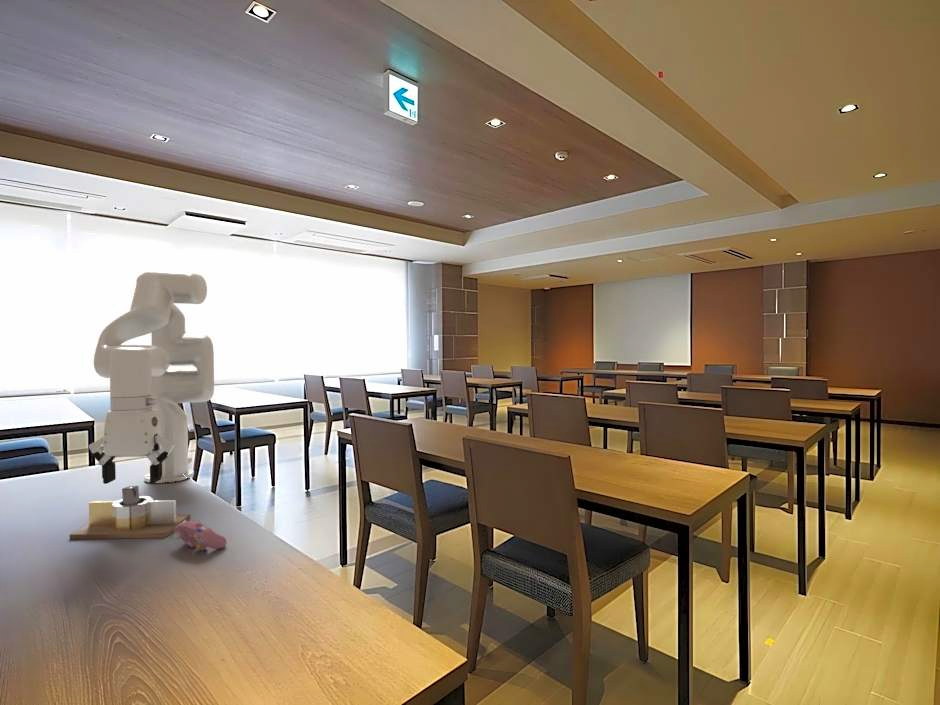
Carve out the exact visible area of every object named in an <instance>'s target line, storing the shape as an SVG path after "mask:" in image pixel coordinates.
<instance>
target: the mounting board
mask: <svg viewBox="0 0 940 705" xmlns="http://www.w3.org/2000/svg"><path fill="white" fill-rule="evenodd" d="M189 518H190V519H191V514H190V513H187V514H186V513H185V514H183V513H182V514H181V513H180V514H177V513H176V523H175V524H149V525H148V526H145V527H141V528H137V529H133V530H115V529H114V528H113V527H112V525H89V523H88V524H86V525H85V526H83V527H81V528H79V529H76V530H75V531H74V532H71V533H70V534H69V540H97V539H98V540H102V539H103V540H106V539H110V540H111V539H112V540H113V539H156V538H157V539H160V538H161V539H163V538H164V539H165V538H166V536H167V537H168V536H169V535H171V534H172V533H174V530H173V529H174V528H175V527H176V526H177V525H178V524H179V523H183V522H184V520H186V521H187V520H188V519H189ZM190 519H189V520H190ZM189 520H188V521H189ZM170 533H171V534H170Z"/></svg>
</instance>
